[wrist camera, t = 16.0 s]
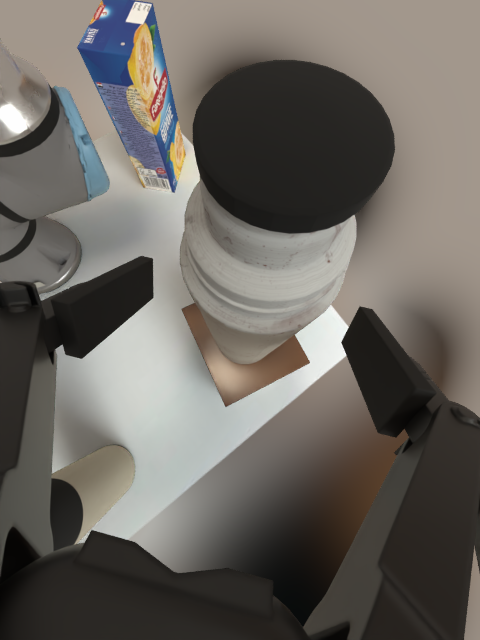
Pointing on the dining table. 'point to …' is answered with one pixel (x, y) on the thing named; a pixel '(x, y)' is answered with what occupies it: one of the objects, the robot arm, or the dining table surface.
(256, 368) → the box
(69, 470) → the travel mug
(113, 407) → the dining table surface
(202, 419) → the dining table surface
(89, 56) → the beverage box
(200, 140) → the thermos bottle
